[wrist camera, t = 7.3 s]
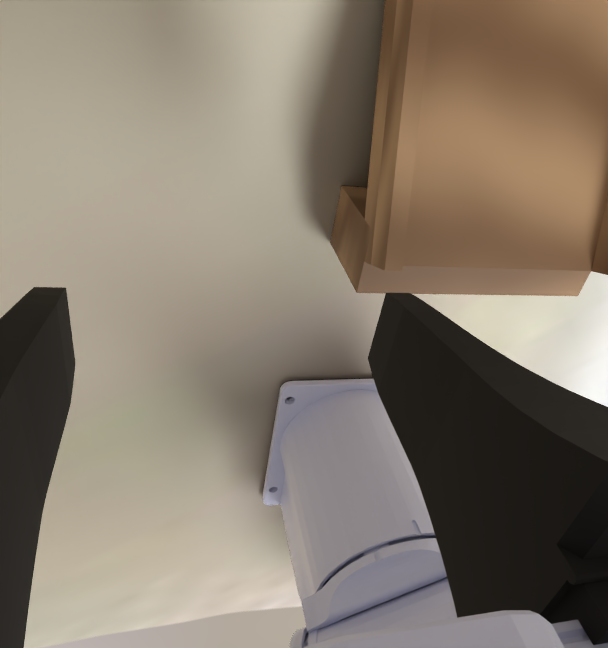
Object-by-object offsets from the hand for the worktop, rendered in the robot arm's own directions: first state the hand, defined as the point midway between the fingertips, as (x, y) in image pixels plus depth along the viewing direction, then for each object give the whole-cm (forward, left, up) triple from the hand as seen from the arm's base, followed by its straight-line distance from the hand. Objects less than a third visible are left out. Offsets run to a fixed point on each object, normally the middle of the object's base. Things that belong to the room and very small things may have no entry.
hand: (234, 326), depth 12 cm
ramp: (+4, -10, -10) cm, 15 cm away
